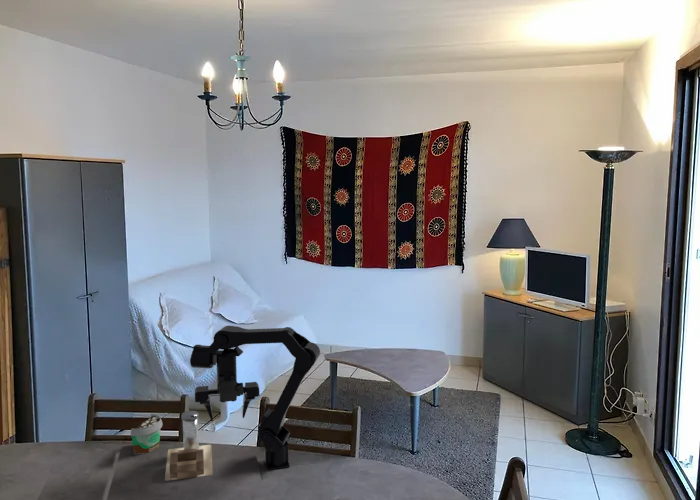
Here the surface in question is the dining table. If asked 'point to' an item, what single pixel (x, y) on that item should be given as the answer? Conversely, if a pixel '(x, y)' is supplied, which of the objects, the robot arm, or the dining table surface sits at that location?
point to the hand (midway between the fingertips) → (227, 419)
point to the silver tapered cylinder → (190, 430)
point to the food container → (147, 435)
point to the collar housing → (188, 463)
